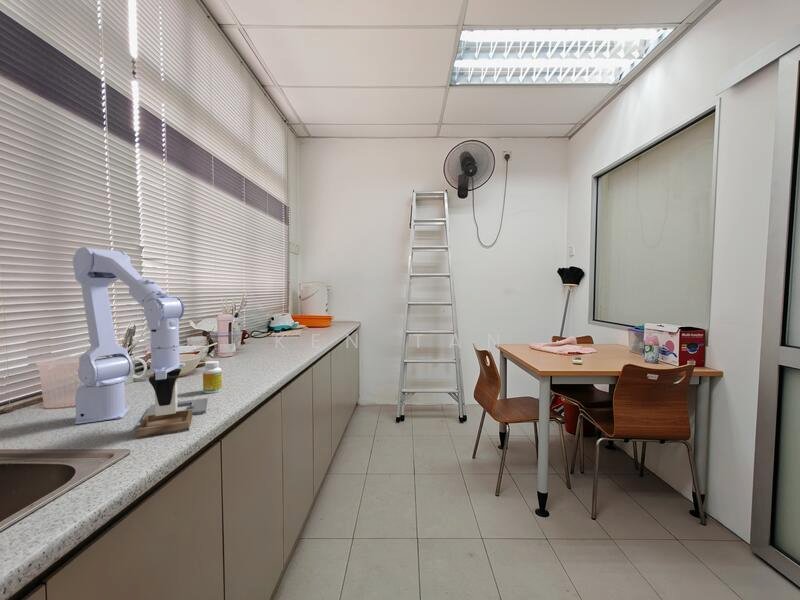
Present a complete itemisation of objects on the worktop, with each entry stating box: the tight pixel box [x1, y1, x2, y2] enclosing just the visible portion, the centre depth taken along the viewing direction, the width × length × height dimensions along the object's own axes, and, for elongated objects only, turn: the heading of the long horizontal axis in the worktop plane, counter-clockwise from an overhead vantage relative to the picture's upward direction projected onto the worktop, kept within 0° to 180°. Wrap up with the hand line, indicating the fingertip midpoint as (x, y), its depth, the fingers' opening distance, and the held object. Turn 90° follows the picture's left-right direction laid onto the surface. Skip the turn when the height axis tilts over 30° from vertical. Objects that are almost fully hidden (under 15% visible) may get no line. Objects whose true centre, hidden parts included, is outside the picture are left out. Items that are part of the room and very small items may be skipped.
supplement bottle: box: [202, 360, 223, 394], centre depth 113 cm, size 5×5×10 cm
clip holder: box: [141, 397, 209, 421], centre depth 95 cm, size 14×12×2 cm
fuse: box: [154, 378, 179, 416], centre depth 83 cm, size 4×4×8 cm
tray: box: [136, 408, 193, 439], centre depth 83 cm, size 10×10×2 cm
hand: (166, 402), depth 83 cm, fingers closed on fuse, 4 cm apart
